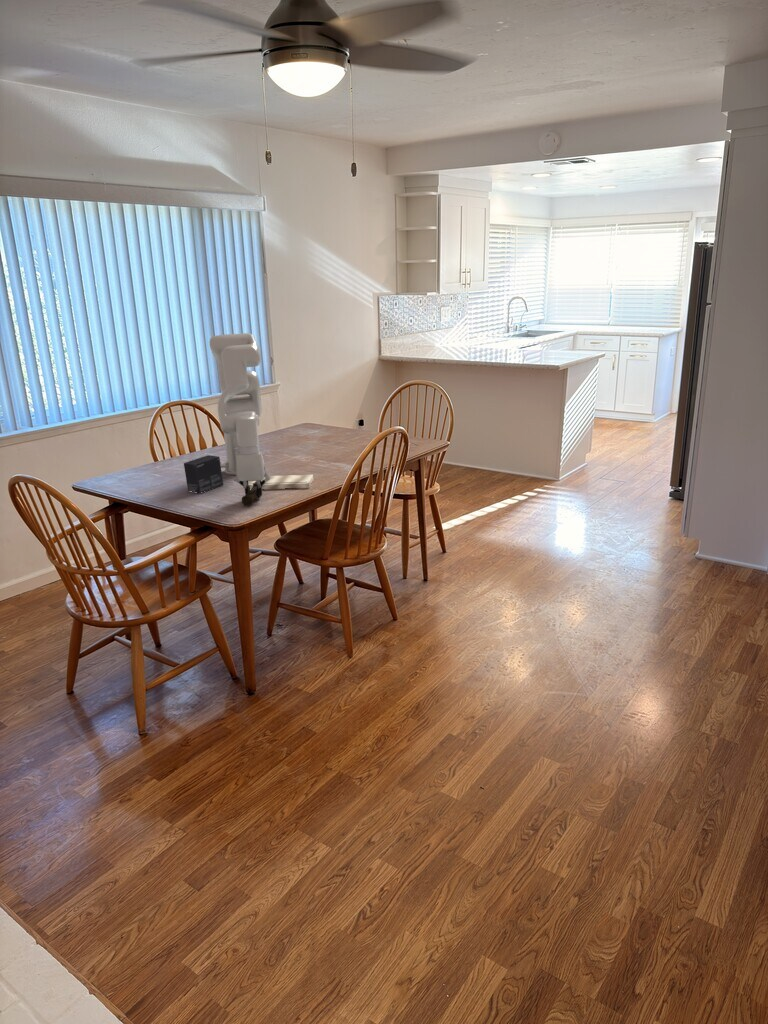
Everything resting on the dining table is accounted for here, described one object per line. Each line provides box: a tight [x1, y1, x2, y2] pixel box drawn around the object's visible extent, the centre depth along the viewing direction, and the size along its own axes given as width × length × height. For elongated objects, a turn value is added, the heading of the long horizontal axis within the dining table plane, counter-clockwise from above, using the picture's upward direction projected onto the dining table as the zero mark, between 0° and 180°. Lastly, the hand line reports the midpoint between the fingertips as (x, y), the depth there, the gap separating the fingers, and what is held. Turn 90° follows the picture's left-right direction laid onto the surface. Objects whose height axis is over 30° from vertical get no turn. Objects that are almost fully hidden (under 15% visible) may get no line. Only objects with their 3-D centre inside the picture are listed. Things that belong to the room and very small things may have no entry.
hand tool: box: [241, 481, 258, 507], centre depth 264 cm, size 19×4×5 cm, turn 172°
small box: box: [183, 454, 224, 494], centre depth 279 cm, size 13×7×12 cm, turn 147°
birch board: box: [248, 474, 314, 490], centre depth 281 cm, size 24×12×2 cm, turn 88°
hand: (254, 496), depth 264 cm, fingers closed on hand tool, 3 cm apart
